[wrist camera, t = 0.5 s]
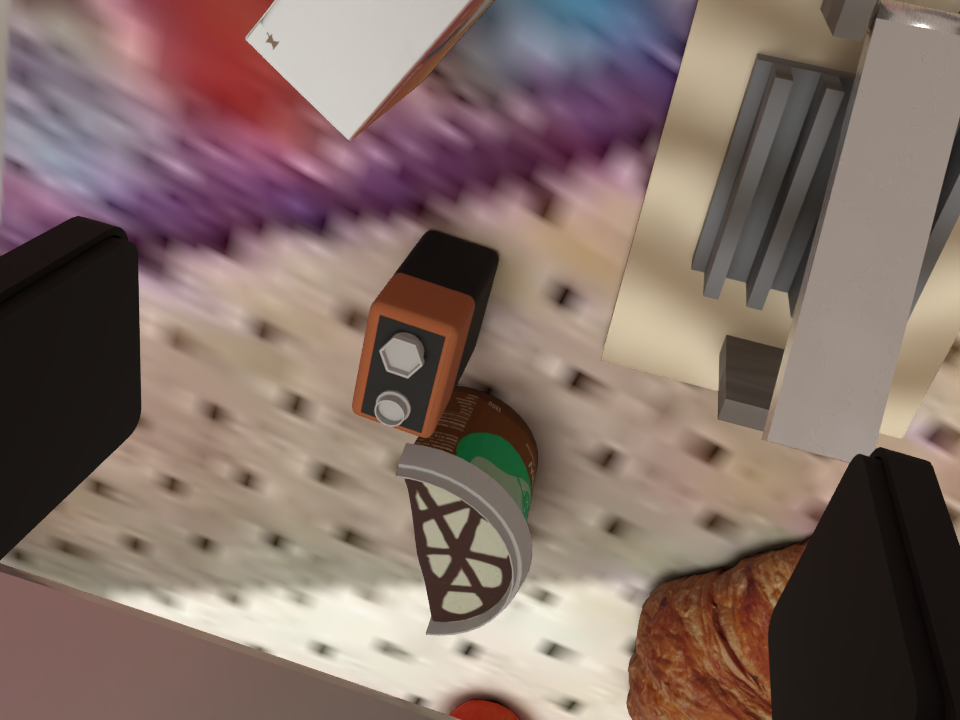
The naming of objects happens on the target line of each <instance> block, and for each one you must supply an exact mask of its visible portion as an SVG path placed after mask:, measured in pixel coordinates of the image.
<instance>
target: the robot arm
mask: <svg viewBox="0 0 960 720" xmlns="http://www.w3.org/2000/svg"><path fill="white" fill-rule="evenodd" d="M140 415H141V374H140V328H139V282H138V253H137V249H136V246H135V245H134V244H133V243H132V242H129V241H128V237H127V235H126V233H125V231H124V230H123V229H121V228H120V227H116V226H113V225H109V224H106V223H102V222H99V221H95V220H92V219H89V218H85V217H81V216H76V217H73V218H71V219H69V220H67V221H65V222H63V223H61V224H59V225H58V226H56V227H54V228H52V229H50V230H48V231H47V232H45V233H43V234H41V235H39V236H37V237H35V238H34V239H32V240H30V241H28V242H26V243H24V244H23V245H21V246H19V247H17V248H15V249H13V250H11V251H10V252H8V253H6V254H4V255H2V256H0V560H1V559H2V558H3V557H4V556H5V555H6V554H7V553H8V552H9V551H10V550H11V549H13V548H14V547H15V546H16V545H17V544H18V543H19V542H20V541H21V540H22V539H23V538H24V537H25V536H26V535H27V534H28V533H29V532H30V531H31V530H32V529H33V528H34V527H35V526H37V525H38V524H39V523H40V522H41V521H42V520H43V519H44V518H45V517H46V516H47V515H48V514H49V513H50V512H51V511H52V510H53V509H54V508H55V507H56V506H57V505H58V504H59V503H60V502H62V501H63V500H64V499H65V498H66V497H67V496H68V495H69V494H70V493H71V492H72V491H73V490H74V489H75V488H76V487H77V486H78V485H79V484H80V483H81V482H82V481H83V480H84V479H86V478H87V477H88V476H89V475H90V474H91V473H92V472H93V471H94V470H95V469H96V468H97V467H98V466H99V465H100V464H101V463H102V462H103V461H104V460H105V459H106V458H107V457H108V456H110V455H111V454H112V453H113V452H114V451H115V450H116V449H117V448H118V447H119V446H120V445H121V444H122V443H123V442H124V441H125V440H126V439H127V438H128V437H129V436H130V435H131V434H132V433H133V431H134V430H135V428H136V426H137V424H138V421H139V418H140ZM768 650H769V669H770V688H771V707H772V720H960V545H959V542H958V539H957V536H956V533H955V530H954V527H953V524H952V521H951V519H950V516H949V513H948V510H947V507H946V504H945V501H944V498H943V495H942V492H941V489H940V486H939V483H938V480H937V477H936V475H935V472H934V469H933V466H932V465H931V463H930V462H929V461H926V460H923V459H920V458H916V457H913V456H909V455H906V454H902V453H899V452H895V451H892V450H888V449H885V448H882V447H879V448H877V449H875V450H874V451H873V452H872V453H871V455H870V456H866V455H862V454H857V455H856V456H855V457H854V458H853V459H852V460H851V462H850V464H849V465H848V467H847V469H846V471H845V473H844V475H843V477H842V479H841V481H840V483H839V485H838V487H837V488H836V490H835V492H834V494H833V496H832V498H831V500H830V502H829V504H828V506H827V508H826V510H825V511H824V513H823V515H822V517H821V519H820V521H819V523H818V525H817V527H816V529H815V531H814V533H813V534H812V536H811V538H810V540H809V542H808V544H807V546H806V548H805V550H804V552H803V554H802V556H801V557H800V559H799V561H798V563H797V565H796V567H795V569H794V571H793V573H792V575H791V577H790V579H789V580H788V582H787V584H786V586H785V588H784V590H783V592H782V594H781V596H780V598H779V600H778V602H777V603H776V605H775V608H774V610H773V612H772V616H771V619H770V623H769V629H768ZM0 720H460V719H457V718H455V717H452V716H449V715H446V714H443V713H440V712H437V711H434V710H432V709H429V708H426V707H423V706H420V705H417V704H414V703H411V702H408V701H406V700H403V699H400V698H397V697H394V696H391V695H388V694H385V693H382V692H379V691H376V690H373V689H370V688H368V687H365V686H362V685H359V684H356V683H353V682H350V681H347V680H344V679H341V678H338V677H335V676H332V675H329V674H327V673H324V672H321V671H318V670H315V669H312V668H309V667H306V666H303V665H300V664H297V663H294V662H291V661H289V660H286V659H283V658H280V657H277V656H274V655H271V654H268V653H265V652H262V651H259V650H256V649H253V648H250V647H247V646H244V645H242V644H239V643H236V642H233V641H230V640H227V639H224V638H221V637H218V636H215V635H212V634H209V633H206V632H203V631H200V630H197V629H194V628H191V627H188V626H186V625H183V624H180V623H177V622H174V621H171V620H168V619H165V618H162V617H159V616H156V615H153V614H150V613H147V612H144V611H141V610H138V609H135V608H132V607H129V606H126V605H123V604H120V603H117V602H114V601H111V600H108V599H105V598H102V597H99V596H96V595H93V594H90V593H87V592H84V591H82V590H79V589H76V588H73V587H70V586H67V585H64V584H61V583H58V582H55V581H52V580H49V579H46V578H43V577H40V576H37V575H34V574H31V573H28V572H25V571H22V570H19V569H16V568H13V567H10V566H7V565H4V564H1V563H0Z"/></svg>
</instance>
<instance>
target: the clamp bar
mask: <svg viewBox="0 0 960 720" xmlns="http://www.w3.org/2000/svg"><path fill="white" fill-rule="evenodd" d="M959 118H960V14H957V13H952V12H947V11H942V10H937V9H932V8H927V7H922V6H917V5H912V4H907V3H902V2H897V1H892V0H878V1H877V2H876V4H875V6H874V9H873V11H872V14H871V16H870V20H869V23H868V28H867V33H866V37H865V41H864V45H863V49H862V53H861V56H860V60H859V64H858V68H857V72H856V76H855V80H854V83H853V87H852V91H851V95H850V99H849V103H848V107H847V111H846V114H845V118H844V122H843V126H842V130H841V134H840V138H839V141H838V145H837V149H836V153H835V157H834V161H833V165H832V169H831V172H830V176H829V180H828V184H827V188H826V192H825V196H824V199H823V203H822V207H821V211H820V215H819V219H818V223H817V227H816V230H815V234H814V238H813V242H812V246H811V250H810V254H809V257H808V261H807V265H806V269H805V273H804V277H803V281H802V285H801V288H800V292H799V296H798V300H797V304H796V308H795V312H794V315H793V319H792V323H791V327H790V331H789V335H788V339H787V343H786V346H785V350H784V354H783V358H782V362H781V366H780V370H779V373H778V377H777V381H776V385H775V389H774V393H773V397H772V400H771V404H770V408H769V412H768V416H767V420H766V424H765V428H764V431H763V435H762V439H761V440H764V441H768V442H772V443H776V444H780V445H783V446H787V447H791V448H795V449H798V450H802V451H806V452H810V453H813V454H817V455H821V456H825V457H829V458H832V459H836V460H840V461H844V462H847V463H850V462H851V460H852V459H853V458H854V457H855V456H856V455H857V454H862V455H866V456H870V455H871V453H872V452H873V451H874V450H875V447H876V443H877V439H878V435H879V431H880V427H881V423H882V419H883V415H884V412H885V408H886V404H887V400H888V396H889V392H890V388H891V384H892V380H893V376H894V372H895V368H896V365H897V361H898V357H899V353H900V349H901V345H902V341H903V337H904V333H905V329H906V325H907V321H908V317H909V314H910V310H911V306H912V302H913V298H914V294H915V290H916V286H917V282H918V278H919V274H920V270H921V267H922V263H923V259H924V255H925V251H926V247H927V243H928V239H929V235H930V231H931V227H932V223H933V220H934V216H935V212H936V208H937V204H938V200H939V196H940V192H941V188H942V184H943V180H944V176H945V173H946V169H947V165H948V161H949V157H950V153H951V149H952V145H953V141H954V137H955V133H956V129H957V125H958V122H959Z"/></svg>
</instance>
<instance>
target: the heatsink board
mask: <svg viewBox="0 0 960 720" xmlns="http://www.w3.org/2000/svg"><path fill="white" fill-rule="evenodd" d="M877 1H878V0H698V3H697V7H696V10H695V14H694V18H693V22H692V25H691V29H690V33H689V36H688V40H687V44H686V47H685V51H684V55H683V58H682V62H681V66H680V69H679V73H678V77H677V80H676V84H675V88H674V91H673V95H672V99H671V102H670V106H669V110H668V113H667V117H666V121H665V124H664V128H663V132H662V135H661V139H660V143H659V147H658V150H657V154H656V158H655V161H654V165H653V169H652V172H651V176H650V180H649V183H648V187H647V191H646V194H645V198H644V202H643V205H642V209H641V213H640V216H639V220H638V224H637V227H636V231H635V235H634V238H633V242H632V246H631V249H630V253H629V257H628V260H627V264H626V268H625V271H624V275H623V279H622V283H621V286H620V290H619V294H618V297H617V301H616V305H615V308H614V312H613V316H612V319H611V323H610V327H609V330H608V334H607V338H606V341H605V345H604V349H603V353H602V357H601V361H604V362H608V363H612V364H616V365H620V366H624V367H627V368H631V369H635V370H639V371H643V372H647V373H651V374H654V375H658V376H662V377H666V378H670V379H674V380H677V381H681V382H685V383H689V384H693V385H697V386H701V387H704V388H708V389H712V390H716V391H718V420H722V421H726V422H730V423H733V424H737V425H741V426H745V427H749V428H752V429H756V430H760V431H764V428H765V424H766V420H767V416H768V412H769V408H770V404H771V400H772V397H773V393H774V389H775V385H776V381H777V377H778V373H779V370H780V366H781V362H782V358H783V354H784V350H785V346H786V343H787V339H788V335H789V331H790V327H791V323H792V319H793V315H794V312H795V308H796V304H797V300H798V296H799V292H800V288H801V285H802V281H803V277H804V273H805V269H806V265H807V261H808V257H809V254H810V250H811V246H812V242H813V238H814V234H815V230H816V227H817V223H818V219H819V215H820V211H821V207H822V203H823V199H824V196H825V192H826V188H827V184H828V180H829V176H830V172H831V169H832V165H833V161H834V157H835V153H836V149H837V145H838V141H839V138H840V134H841V130H842V126H843V122H844V118H845V114H846V111H847V107H848V103H849V99H850V95H851V91H852V87H853V83H854V80H855V76H856V72H857V68H858V64H859V60H860V56H861V53H862V49H863V45H864V41H865V37H866V33H867V28H868V23H869V20H870V16H871V14H872V11H873V9H874V6H875V4H876V2H877ZM892 1H897V2H902V3H907V4H912V5H917V6H922V7H927V8H932V9H937V10H942V11H947V12H952V13H957V14H960V0H892ZM959 331H960V118H959V122H958V125H957V129H956V133H955V137H954V141H953V145H952V149H951V153H950V157H949V161H948V165H947V169H946V173H945V176H944V180H943V184H942V188H941V192H940V196H939V200H938V204H937V208H936V212H935V216H934V220H933V223H932V227H931V231H930V235H929V239H928V243H927V247H926V251H925V255H924V259H923V263H922V267H921V270H920V274H919V278H918V282H917V286H916V290H915V294H914V298H913V302H912V306H911V310H910V314H909V317H908V321H907V325H906V329H905V333H904V337H903V341H902V345H901V349H900V353H899V357H898V361H897V365H896V368H895V372H894V376H893V380H892V384H891V388H890V392H889V396H888V400H887V404H886V408H885V412H884V415H883V419H882V423H881V427H880V431H879V433H881V434H885V435H889V436H893V437H897V438H901V439H902V438H903V436H904V434H905V432H906V430H907V429H908V427H909V425H910V423H911V421H912V419H913V417H914V415H915V414H916V412H917V410H918V408H919V406H920V404H921V402H922V400H923V399H924V397H925V395H926V393H927V391H928V389H929V387H930V385H931V383H932V382H933V380H934V378H935V376H936V374H937V372H938V370H939V368H940V367H941V365H942V363H943V361H944V359H945V357H946V355H947V353H948V352H949V350H950V348H951V346H952V344H953V342H954V340H955V338H956V337H957V335H958V333H959Z"/></svg>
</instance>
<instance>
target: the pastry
mask: <svg viewBox="0 0 960 720" xmlns="http://www.w3.org/2000/svg"><path fill="white" fill-rule="evenodd" d="M809 540H810V538H808V539H806V540H805V541H803V542H795V543H794V544H793V545H791V546H789V547H787V548H781V549H776V550H771V551H768V552H760V553H758V554H755V555H752V556H750V557H747V558H745V559H742V560H741V561H740V562H739V563H738V564H737V565H736V566H735V567H733V568H731V569H725V568H724V567H720V568H718V569H715V570H713V571H711V572H710V573H707V574H704V573H702V574H695V575H689V576H683V577H680V578H677V579H674V580H671V581H667V582H665V583H662V584H661V585H660V586H659V587H658V588H657V589H655V590H654V591H652V592H651V593H650V596H649V597H648V599H647V600H646V601H645V603H644V604H643V606H642V612H641V615H640V620H639V625H638V632H637V639H636V652H635V653H634V654H633V655H632V657H631V659H630V662H629V667H628V672H629V683H630V690H629V693H628V698H627V708H628V712H629V715H630V716H631V718H632V720H772V707H771V688H770V669H769V650H768V629H769V623H770V619H771V616H772V612H773V610H774V608H775V605H776V603H777V602H778V600H779V598H780V596H781V594H782V592H783V590H784V588H785V586H786V584H787V582H788V580H789V579H790V577H791V575H792V573H793V571H794V569H795V567H796V565H797V563H798V561H799V559H800V557H801V556H802V554H803V552H804V550H805V548H806V546H807V544H808V542H809Z"/></svg>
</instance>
